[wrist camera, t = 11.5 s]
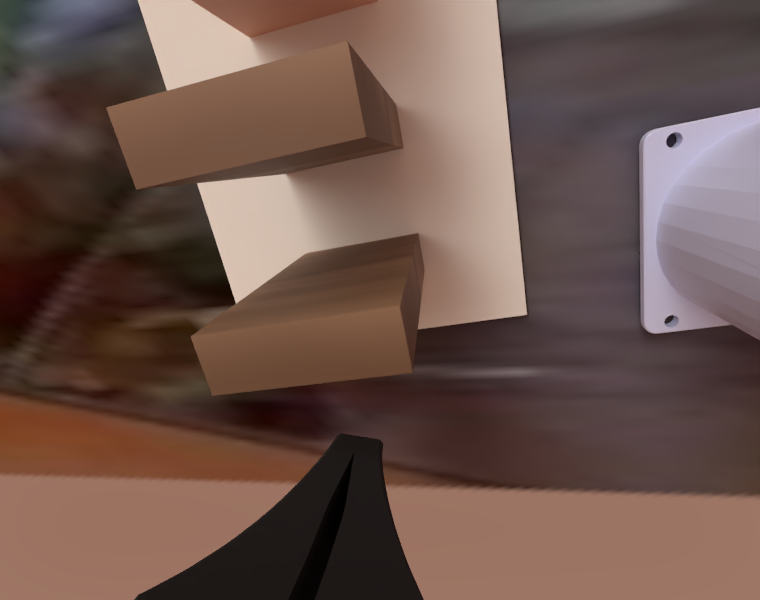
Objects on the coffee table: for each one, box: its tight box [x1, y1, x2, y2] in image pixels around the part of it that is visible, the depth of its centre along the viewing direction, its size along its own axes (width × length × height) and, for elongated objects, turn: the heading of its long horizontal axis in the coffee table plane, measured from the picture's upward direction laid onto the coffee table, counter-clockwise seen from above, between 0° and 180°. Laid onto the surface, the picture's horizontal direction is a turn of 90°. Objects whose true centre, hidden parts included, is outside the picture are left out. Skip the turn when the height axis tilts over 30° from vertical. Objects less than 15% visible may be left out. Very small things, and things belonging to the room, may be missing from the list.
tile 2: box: [106, 41, 404, 190], centre depth 12 cm, size 2×5×9 cm, turn 101°
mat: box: [138, 0, 527, 329], centre depth 15 cm, size 13×25×1 cm, turn 11°
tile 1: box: [191, 233, 425, 396], centre depth 14 cm, size 2×5×9 cm, turn 101°
